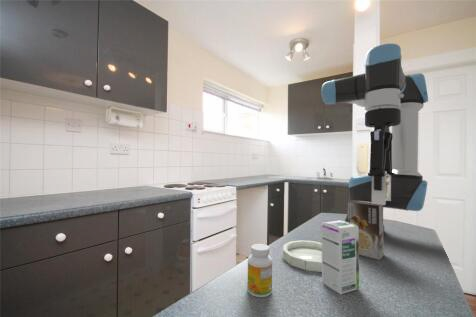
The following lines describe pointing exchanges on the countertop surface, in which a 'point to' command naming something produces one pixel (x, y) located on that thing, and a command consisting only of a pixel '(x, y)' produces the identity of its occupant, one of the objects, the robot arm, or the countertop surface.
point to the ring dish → (304, 254)
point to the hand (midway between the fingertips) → (381, 201)
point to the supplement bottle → (259, 271)
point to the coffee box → (368, 227)
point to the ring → (387, 185)
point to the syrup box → (340, 256)
